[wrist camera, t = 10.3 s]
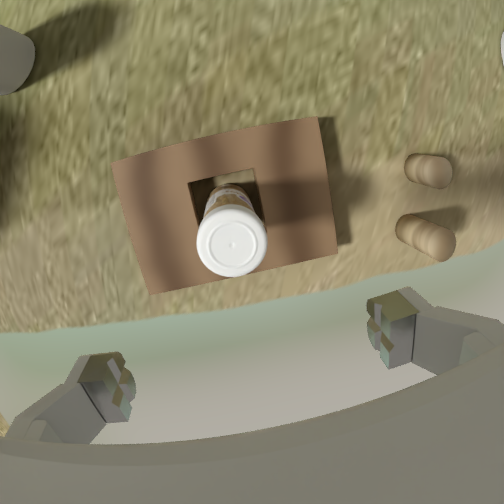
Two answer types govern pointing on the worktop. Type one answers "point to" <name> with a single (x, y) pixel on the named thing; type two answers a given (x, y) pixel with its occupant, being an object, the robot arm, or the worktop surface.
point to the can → (14, 59)
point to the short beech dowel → (428, 170)
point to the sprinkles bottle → (231, 233)
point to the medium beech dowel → (426, 237)
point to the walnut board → (218, 163)
